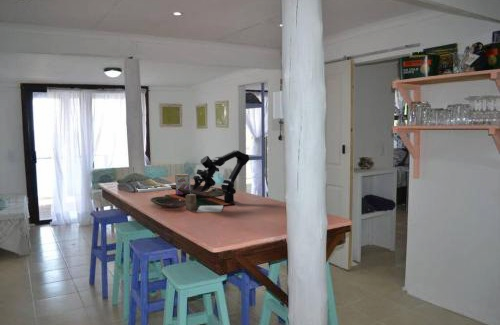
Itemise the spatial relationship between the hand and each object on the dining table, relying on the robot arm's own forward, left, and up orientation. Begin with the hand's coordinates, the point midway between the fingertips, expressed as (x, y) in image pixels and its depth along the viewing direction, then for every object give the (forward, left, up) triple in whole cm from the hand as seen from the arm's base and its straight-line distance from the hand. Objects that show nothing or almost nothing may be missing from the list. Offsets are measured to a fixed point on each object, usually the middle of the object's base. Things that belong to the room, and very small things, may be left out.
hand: (197, 190), depth 264 cm
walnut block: (+4, +4, -12) cm, 13 cm away
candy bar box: (+20, -52, -12) cm, 57 cm away
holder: (+45, -82, -13) cm, 94 cm away
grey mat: (-9, +5, -12) cm, 16 cm away
